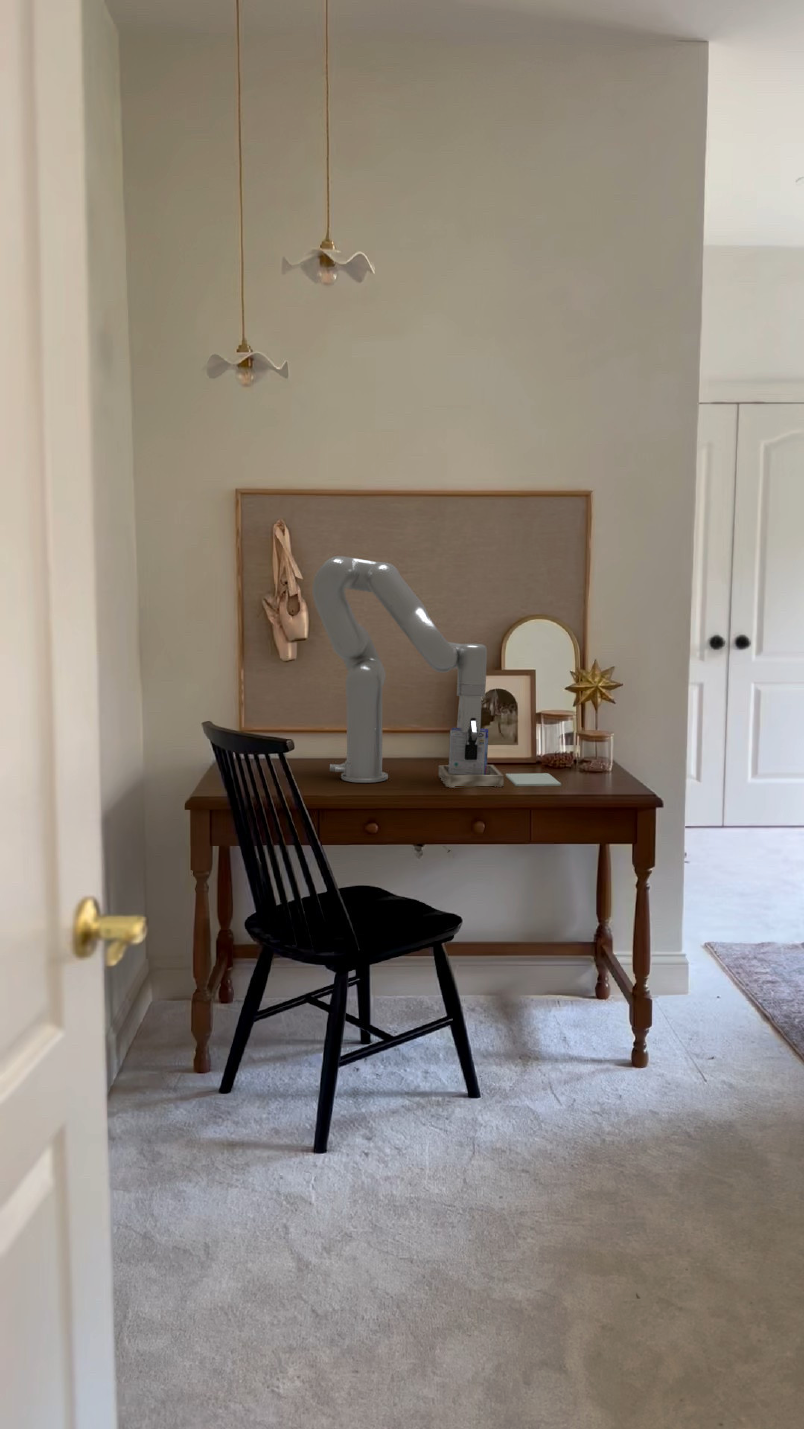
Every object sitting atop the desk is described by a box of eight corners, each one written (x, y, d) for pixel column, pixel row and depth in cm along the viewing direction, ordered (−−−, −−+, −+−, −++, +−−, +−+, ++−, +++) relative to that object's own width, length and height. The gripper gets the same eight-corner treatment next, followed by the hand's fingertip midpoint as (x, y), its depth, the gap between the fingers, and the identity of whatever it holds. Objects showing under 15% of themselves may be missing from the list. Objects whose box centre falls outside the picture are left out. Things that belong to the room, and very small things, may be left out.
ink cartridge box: (487, 773, 295) (489, 720, 293) (484, 777, 289) (487, 723, 287) (451, 770, 297) (453, 717, 294) (447, 774, 291) (449, 720, 289)
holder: (446, 787, 285) (446, 776, 285) (438, 776, 300) (438, 765, 299) (503, 786, 287) (503, 775, 286) (492, 775, 301) (492, 764, 301)
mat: (516, 786, 287) (516, 784, 287) (505, 775, 301) (505, 773, 301) (560, 785, 289) (560, 783, 289) (548, 775, 302) (548, 773, 302)
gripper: (452, 686, 298) (449, 751, 301) (462, 694, 281) (459, 763, 283) (479, 686, 299) (476, 751, 301) (491, 694, 282) (488, 763, 284)
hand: (468, 756), depth 292 cm, fingers closed on ink cartridge box, 6 cm apart
